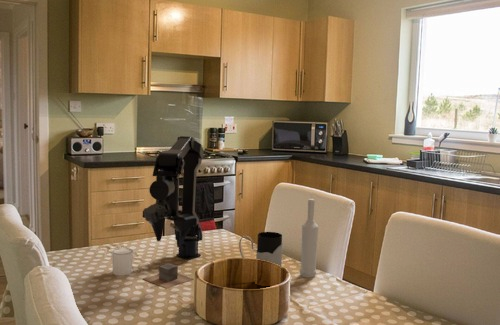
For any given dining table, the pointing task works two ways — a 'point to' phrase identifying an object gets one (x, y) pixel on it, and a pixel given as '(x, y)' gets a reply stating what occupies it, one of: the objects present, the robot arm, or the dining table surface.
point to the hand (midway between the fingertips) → (168, 244)
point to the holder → (267, 247)
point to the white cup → (122, 261)
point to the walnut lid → (168, 277)
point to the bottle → (309, 243)
